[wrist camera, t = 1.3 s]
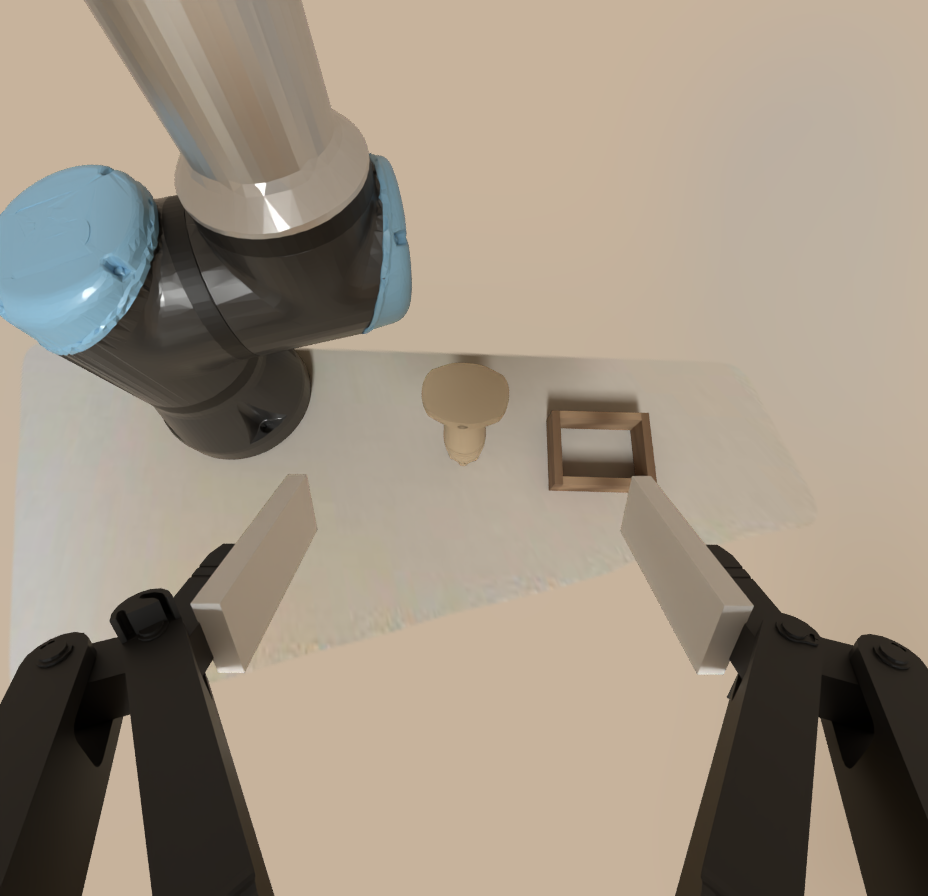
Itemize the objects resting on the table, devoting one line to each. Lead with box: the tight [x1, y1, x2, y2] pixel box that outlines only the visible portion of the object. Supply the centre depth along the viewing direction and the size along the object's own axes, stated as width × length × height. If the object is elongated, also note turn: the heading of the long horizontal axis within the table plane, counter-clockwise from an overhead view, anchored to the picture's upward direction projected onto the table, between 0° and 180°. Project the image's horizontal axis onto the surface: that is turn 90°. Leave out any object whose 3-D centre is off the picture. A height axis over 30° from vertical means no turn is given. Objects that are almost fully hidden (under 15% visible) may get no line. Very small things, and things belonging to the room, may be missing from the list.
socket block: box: [547, 410, 657, 493], centre depth 43 cm, size 10×8×3 cm
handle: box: [422, 363, 509, 466], centre depth 37 cm, size 5×6×15 cm
